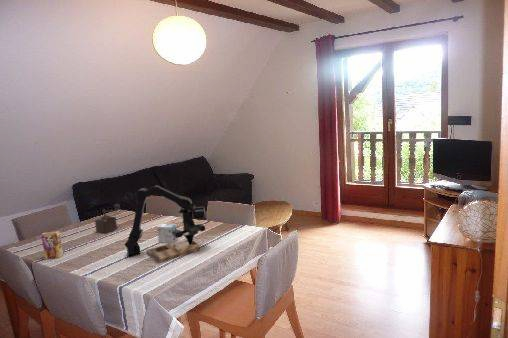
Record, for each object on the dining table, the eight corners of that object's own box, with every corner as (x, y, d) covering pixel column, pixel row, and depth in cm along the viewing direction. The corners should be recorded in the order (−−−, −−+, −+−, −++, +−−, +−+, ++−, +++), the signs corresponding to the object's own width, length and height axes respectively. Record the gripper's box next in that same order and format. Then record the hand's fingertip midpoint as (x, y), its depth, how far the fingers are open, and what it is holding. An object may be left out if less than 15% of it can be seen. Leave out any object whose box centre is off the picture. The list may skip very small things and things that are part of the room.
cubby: (180, 252, 203) (179, 249, 202) (173, 247, 211) (173, 244, 210) (198, 247, 209) (198, 244, 209) (191, 242, 217) (190, 239, 217)
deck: (158, 263, 195) (157, 257, 194) (146, 253, 210) (145, 247, 210) (199, 250, 209) (198, 245, 208) (185, 242, 224) (185, 236, 224)
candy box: (63, 254, 216) (59, 230, 214) (60, 257, 212) (56, 233, 210) (48, 256, 216) (44, 232, 213) (44, 259, 211) (40, 234, 209)
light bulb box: (178, 239, 230) (176, 223, 228) (173, 243, 224) (171, 226, 222) (163, 238, 233) (161, 223, 231) (158, 242, 227) (156, 226, 225)
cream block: (179, 251, 204) (178, 244, 204) (175, 248, 209) (174, 242, 209) (189, 248, 208) (188, 242, 207) (185, 245, 213) (184, 239, 212)
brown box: (106, 234, 250) (103, 209, 247) (95, 232, 255) (92, 208, 252) (123, 227, 263) (120, 203, 260) (113, 225, 269) (110, 202, 266)
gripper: (178, 226, 197) (181, 253, 200) (208, 218, 207) (210, 244, 210) (170, 221, 206) (173, 247, 209) (199, 214, 216) (202, 239, 219)
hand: (190, 244), depth 211 cm, fingers closed
